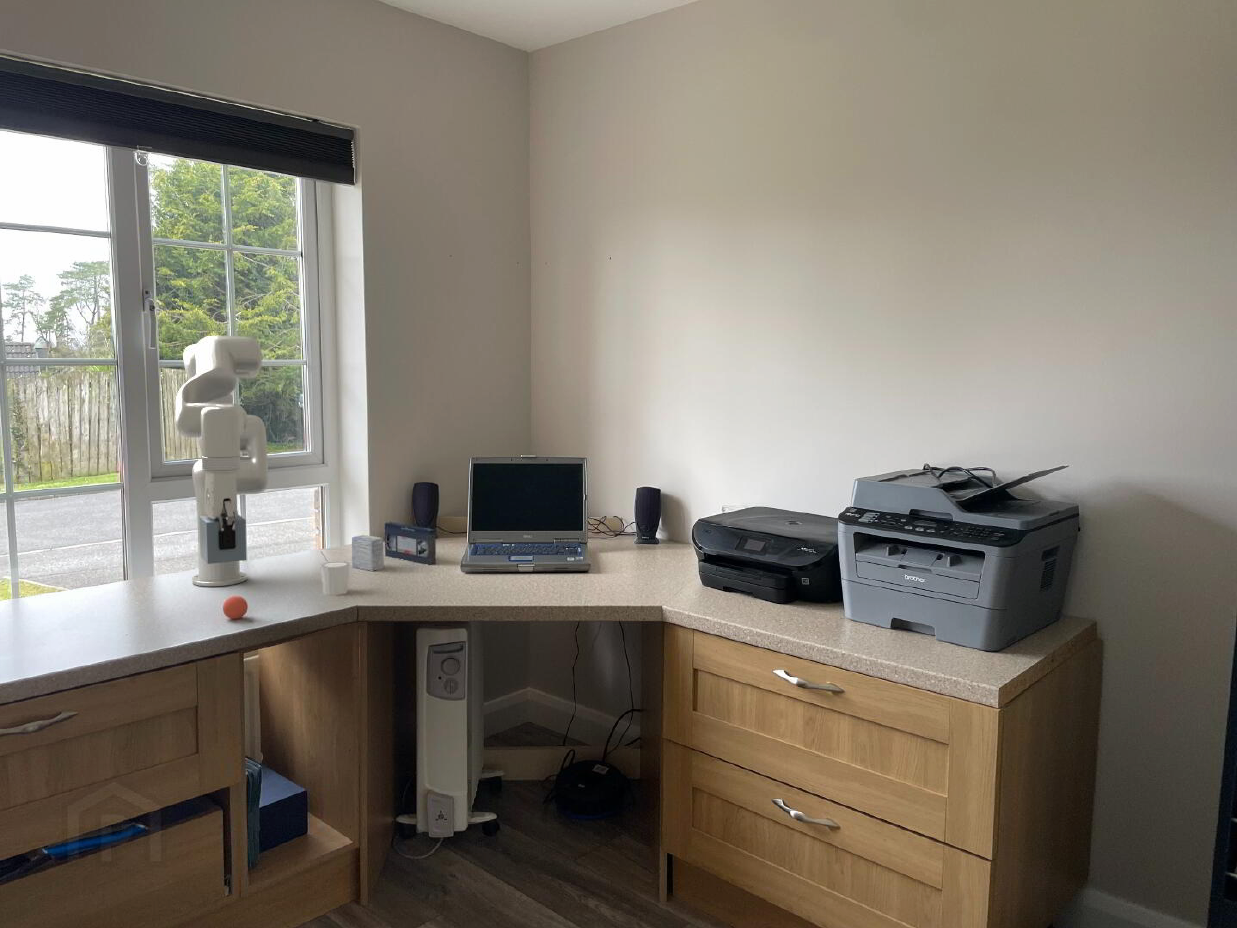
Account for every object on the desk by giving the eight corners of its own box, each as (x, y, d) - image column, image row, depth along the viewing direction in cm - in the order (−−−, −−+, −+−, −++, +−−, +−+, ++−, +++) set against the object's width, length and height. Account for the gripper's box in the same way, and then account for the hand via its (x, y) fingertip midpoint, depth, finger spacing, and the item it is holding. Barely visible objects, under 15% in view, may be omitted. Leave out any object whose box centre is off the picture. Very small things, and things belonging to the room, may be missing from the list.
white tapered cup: (341, 596, 217) (341, 568, 217) (315, 594, 219) (315, 566, 218) (355, 589, 224) (355, 562, 223) (329, 587, 225) (329, 560, 225)
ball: (220, 617, 198) (220, 595, 197) (244, 614, 201) (244, 592, 200) (226, 623, 194) (225, 600, 193) (250, 619, 197) (250, 597, 196)
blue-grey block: (200, 556, 195) (199, 516, 194) (238, 552, 200) (237, 513, 199) (207, 563, 189) (206, 522, 188) (246, 560, 194) (245, 519, 192)
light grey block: (384, 569, 247) (384, 537, 246) (371, 572, 243) (371, 540, 242) (364, 564, 251) (364, 534, 250) (351, 567, 247) (351, 536, 246)
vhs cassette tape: (384, 556, 262) (384, 522, 261) (392, 554, 265) (392, 521, 264) (428, 566, 252) (428, 531, 251) (436, 564, 254) (436, 529, 253)
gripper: (194, 460, 197) (196, 539, 199) (210, 470, 183) (212, 555, 185) (231, 459, 201) (232, 536, 203) (249, 468, 187) (250, 551, 189)
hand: (223, 544), depth 194 cm, fingers closed on blue-grey block, 7 cm apart
